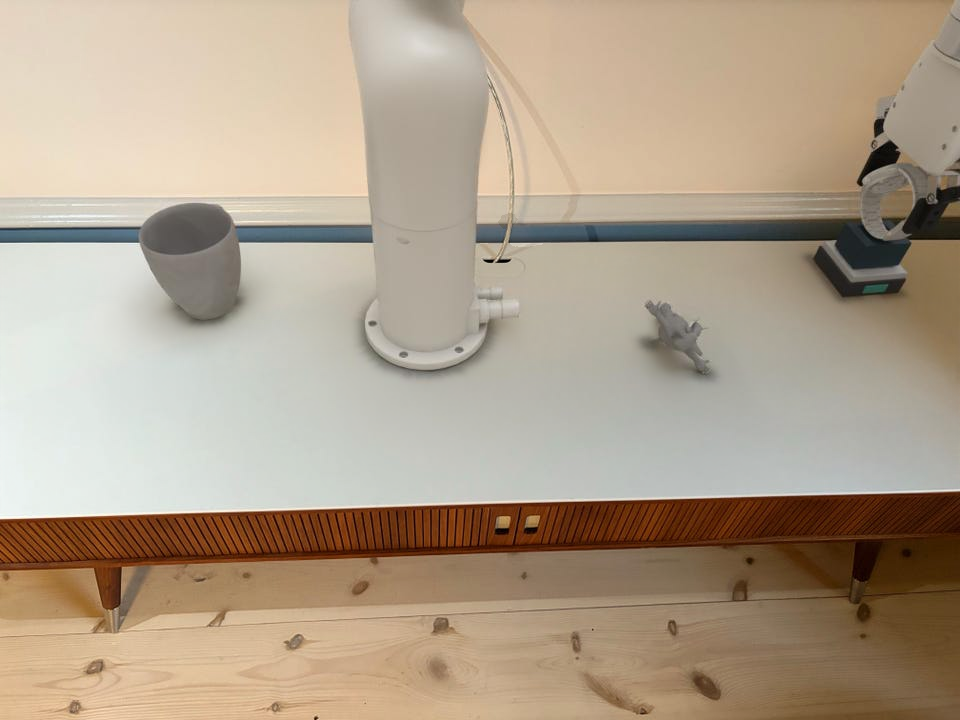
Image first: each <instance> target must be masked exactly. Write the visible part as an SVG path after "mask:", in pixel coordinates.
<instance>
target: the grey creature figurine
mask: <svg viewBox="0 0 960 720" xmlns="http://www.w3.org/2000/svg"><path fill="white" fill-rule="evenodd" d="M644 308H645V309H646V310H648V313H649V314H650V315H651V316H653V317H655V318H656V320H657V321H658V323H659V326H658V330H657V336H658V338H656V339H653V340H649V344H653V343H654V344H655V343H663V344H664V346H666V347H667V348H669V349H672V350H675V351H678V352H681V353H683V354H685V355H686V356H687V357H688V358H689V359H690V360H691V361H693V363H694V365H695V367H696V369H697V370H698V371H700V372H701V373H702V374H705V375H707V374H709V373H710V372H711V371H712V369H711V368H709V367H708V366H707V365H708V363H711V359H701V358H700V357H702V356H703V352H702V349H700V347H699V345H698V344H697V340H698V338H699V337H700V336H701V333H702V331H704V330H707V329H709V327H708V326H702V325H701V324H700V323H699V322H698V321H700V320H701V317H697V318H694V319H693V320H691V321H690V322H687V321H686V320H685V319H684V318H683V317H682V315H681V313H680V312H679V311H676V312H673V310H672V308H673V304H672V302H670V301H666V302H664V303H662V301H661V300H660V301H658V303H657V304H656V305H655V304H654V303H653V301H652V299H649V300H646V302H644Z"/></svg>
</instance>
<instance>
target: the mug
mask: <svg viewBox="0 0 960 720" xmlns="http://www.w3.org/2000/svg"><path fill="white" fill-rule="evenodd" d="M236 228H237V227H236V225H235V222H234V220H233V217H232V216H231V215H230V213H229V212H228V211H226V210H225V208H224V207H222V206H221V205H220V204H218V203H206V202H186V203H179V204H175V205H171V206H168V207H165V208H163V209H161V210H159V211H157V212H154V213H153V214H152V215H150V216H149V217H148V218H147V219H146V220H145V221H144V222H143V223H142V224H141V226H140V229H139V233H138V241H139V245H140V249H141V251H142V254H143V256H144V258H145V261H146V263H147V265H148V267H149V269H150V271H151V273H152V275H153V276H154V278H155V279H156V281H157V282H158V284H159V286H160V288H161V289H162V290H163V291H164V293H166V295H167V296H168V297H169V298H170V299H171V300H172V301H173V302H174V303H176V304H177V305H178V306H179V307H180V308H182V309H183V311H184V312H185V313H186V314H187V316H189V317H190V318H193V319H196V320H202V321H203V320H214V319H217V318H220V317H223V316H225V315H227V314H228V313H229V312H231V311H232V309H233V308H234V306H235V305H236V302H237V294H238V290H239V287H240V282H241V274H242V257H241V256H242V255H241V249H240V242H239V236H238V232H237V229H236Z"/></svg>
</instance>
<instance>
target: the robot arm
mask: <svg viewBox="0 0 960 720" xmlns="http://www.w3.org/2000/svg"><path fill="white" fill-rule="evenodd" d="M465 2H466V0H349V7H348V21H347V22H348V23H347V24H348V34H349V41H350V48H351V51H352V55H353V63H354V68H355V74H356V77H357V83H358V90H359V97H360V106H361V107H360V108H361V115H362V123H363V137H364V138H363V139H364V154H365V157H364V158H365V169H366V183H367V196H368V204H369V212H370V213H369V215H370V223H371V235H372V246H373V257H374V258H373V259H374V260H373V261H374V269H375V281H376V293H377V297H376V298H375V299H374V300H373V301H372V303H370V305H369V306H368V309H367V311H366V313H365V318H364V329H365V335H366V339H367V342H369V344H370V346H371V348H372V349H373V350H374V351H375V352H376V354H377V355H378V356H380V357H381V358H383V359H384V360H385V361H387V362H389V363H391V364H394V365H396V366H399V367H402V368H405V369H410V370H419V371H433V370H440V369H445V368H446V369H447V368H449V367H452V366H455V365H457V364H459V363H462V362H464V361H466V360H467V359H468V358H470V357H471V356H472V355H474V354H475V353H476V352H477V351H478V350H479V349H480V348H481V346H482V345H483V343H484V341H485V339H486V335H487V331H488V324H489V322H490V319H502V320H504V319H518V318H519V317H520V312H521V311H520V302H519V299H518V298H510V299H504V290H503V287H502V286H489V287H486V288H485V287H484V288H480V285H475V272H476V271H475V270H476V269H475V268H476V249H477V248H476V247H477V243H476V242H477V226H478V225H477V223H478V203H479V202H478V197H479V196H478V192H479V175H480V174H479V173H480V164H481V163H480V162H481V153H482V146H483V141H484V134H485V129H486V126H487V119H488V114H489V103H490V87H489V77H488V73H487V67H486V63H485V60H484V57H483V54H482V51H481V48H480V46H479V44H478V42H477V39H476V37H475V35H474V33H473V31H472V29H471V26H470V25H469V23H468V22H467V20H466V19H465V17H464V16H463V11H464V7H465ZM875 111H876V113H875V121H874V122H873V137H874V138H873V139H871V141H870V144H869V146H870V150H871V152H870V154H869V156H868V158H867V160H866V162H865V164H864V166H863V168H862V170H861V172H860V173H859V176H858V178H857V180H856V185H858V186H859V187H862V186H863V183H862V180H863V178H864V177H865V176H867V175H868V174H869V173H871V172H873V171H875V170H877V169H879V168H882V167H885V166H888V165H891V164H896V163H898V160H899V159H900V156H901V154H902V153H904V154H905V155H906V156H907V157H908V158H909V159H911V161H912V162H913V163H915V164H916V165H917V166H919V167H920V168H922V169H923V170H924V171H925V172H926V173H927V174H928V178H927V190H926V195H925V196H926V198H920V199H919V200H918V201H917V203H916V204H915V206H914V208H913V210H912V209H911V211H910V212H909V214H910V215H909V214H908V215H909V216H908V215H907V217H908V218H907V217H906V218H907V220H906V222H905V223H904V225H903V227H902V231H903V232H904V233H905V234H911V235H916V234H929V233H931V232H932V231H933V230H934V229H935V227H936V226H937V224H938V223H939V221H940V219H941V217H942V216H943V215H944V212H945V211H946V210H947V208H948V206H949V205H950V204H956V203H958V202H960V0H954V1H953V3H952V5H951V7H950V9H949V11H948V13H947V14H946V16H945V18H944V21H942V24H941V27H940V28H939V31H938V33H937V34H936V36H935V38H934V39H932V40H931V41H930V42H929V44H928V45H927V47H925V49H924V50H923V52H922V53H921V55H920V56H919V58H918V59H917V60H916V62H915V64H914V65H913V67H912V68H911V69H910V71H909V73H908V75H907V76H906V78H905V79H904V81H903V83H902V84H901V86H900V88H899V90H898V92H897V93H896V94H894V95H889V96H883V97H879V99H877V102H876V110H875ZM899 149H900V150H901V151H902V152H901V151H900V150H899ZM947 168H949V169H947ZM943 177H947V180H946V188H944V189H942V181H943Z"/></svg>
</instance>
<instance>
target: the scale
mask: <svg viewBox="0 0 960 720" xmlns="http://www.w3.org/2000/svg"><path fill="white" fill-rule="evenodd" d="M836 241H837V239H833V240H825V241H823V244H822V245H819V246H818V248H817V250H816V252H815V254H814V256H813V257H812V259H813V261H814V262H815V264H816V265H817V266H818V268H819V269H820V270H821V271H822V273H823V274H824V275H825V277H826V278H827V279H828V280H829V282H830V283H831V284H832V286H834V288H835V290H836V291H837V293H839V295H840V296H841V297H842V298H853V297H863V296H876V295H887V294H897V293H900V291H901V289H902V288H903V286H904V284H905V283H906V281H907V278H906V277H907V274H908V272H907V271H906V269H904V268H903V266H902V265H901V263H900V264H899V265H898V266H885V267H872V268H859V269H853V268H852V266H851V265H850V264H849V263H848V261H847V260H846V259H845V258H844V257H843V255H842V254H841V253H840V252H839V250H838V249H837V248H836V247H835V246H834V245H835V243H836Z"/></svg>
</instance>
